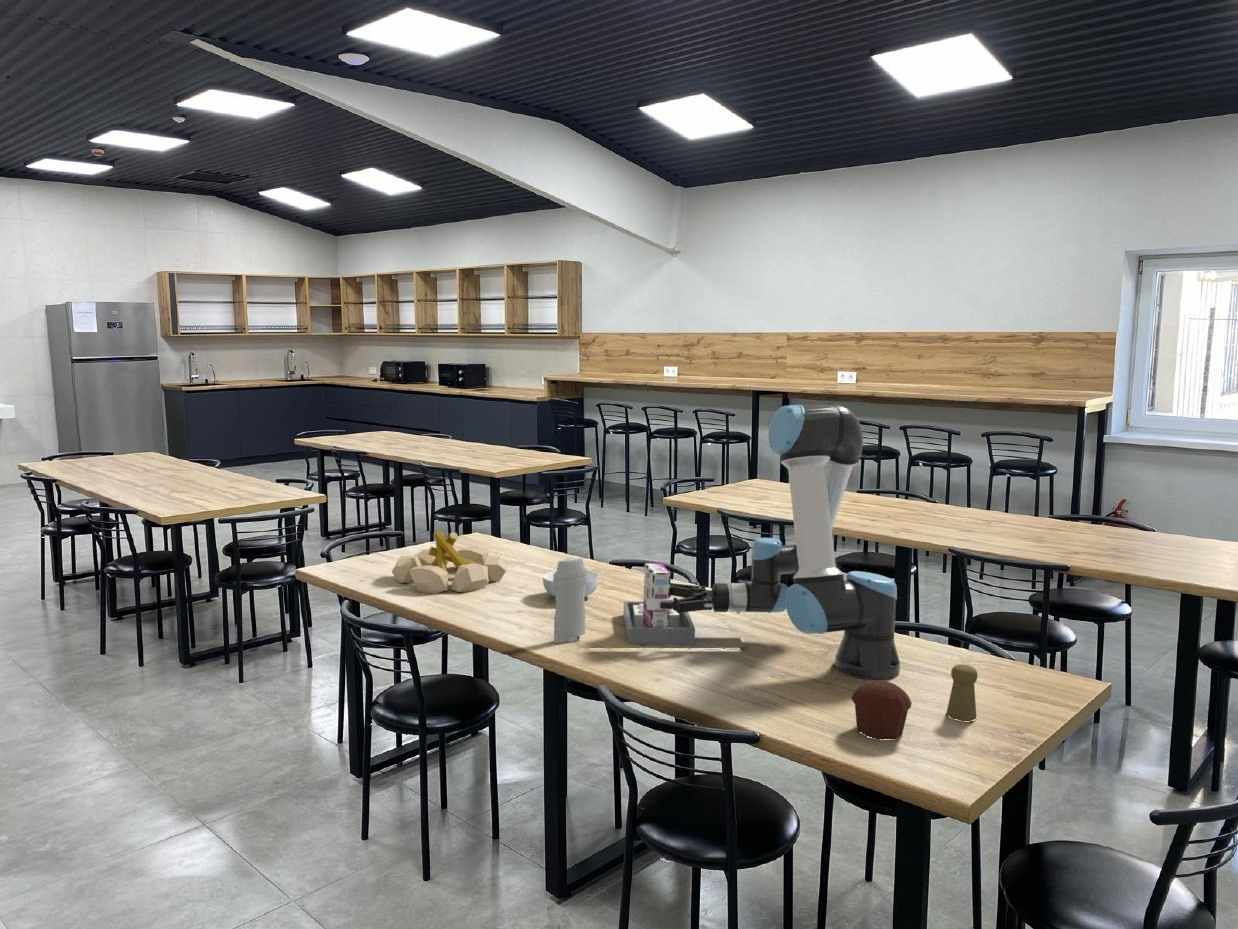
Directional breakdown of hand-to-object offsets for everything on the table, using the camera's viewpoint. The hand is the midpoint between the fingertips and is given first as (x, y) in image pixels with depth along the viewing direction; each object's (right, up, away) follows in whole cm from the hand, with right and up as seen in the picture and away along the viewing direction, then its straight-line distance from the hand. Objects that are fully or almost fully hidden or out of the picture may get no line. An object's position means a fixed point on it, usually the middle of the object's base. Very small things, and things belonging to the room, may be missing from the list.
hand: (645, 597), depth 231 cm
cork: (+65, -19, -45) cm, 81 cm away
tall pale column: (-20, -11, 0) cm, 23 cm away
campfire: (-62, -3, +57) cm, 84 cm away
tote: (+3, -10, +7) cm, 13 cm away
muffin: (+46, -19, -52) cm, 72 cm away
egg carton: (+3, -9, +12) cm, 15 cm away
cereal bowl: (-22, -6, +38) cm, 44 cm away
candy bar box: (+3, -9, +1) cm, 9 cm away
